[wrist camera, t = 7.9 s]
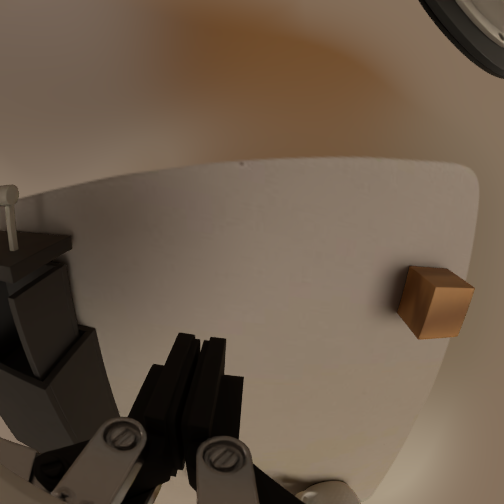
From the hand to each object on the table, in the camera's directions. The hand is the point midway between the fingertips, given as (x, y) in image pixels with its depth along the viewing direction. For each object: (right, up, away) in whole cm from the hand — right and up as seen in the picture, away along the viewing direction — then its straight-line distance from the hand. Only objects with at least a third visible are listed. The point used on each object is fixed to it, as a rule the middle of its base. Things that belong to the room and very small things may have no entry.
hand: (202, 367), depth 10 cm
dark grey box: (-20, -10, +17) cm, 28 cm away
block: (+17, +1, +13) cm, 21 cm away
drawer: (-19, +2, +12) cm, 23 cm away
